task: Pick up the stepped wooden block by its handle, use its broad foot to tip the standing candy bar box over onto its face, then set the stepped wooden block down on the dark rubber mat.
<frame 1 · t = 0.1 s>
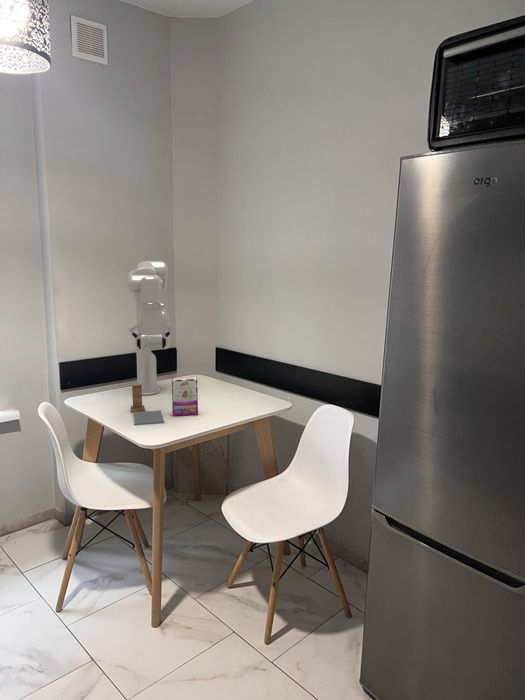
hand: (151, 348, 211), 31 cm above the table, tool pointing down, fingers open, 9 cm apart
stepped wooden block: (137, 410, 229), on the table
candy bar box: (185, 414, 225), on the table
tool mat: (148, 418, 219), on the table
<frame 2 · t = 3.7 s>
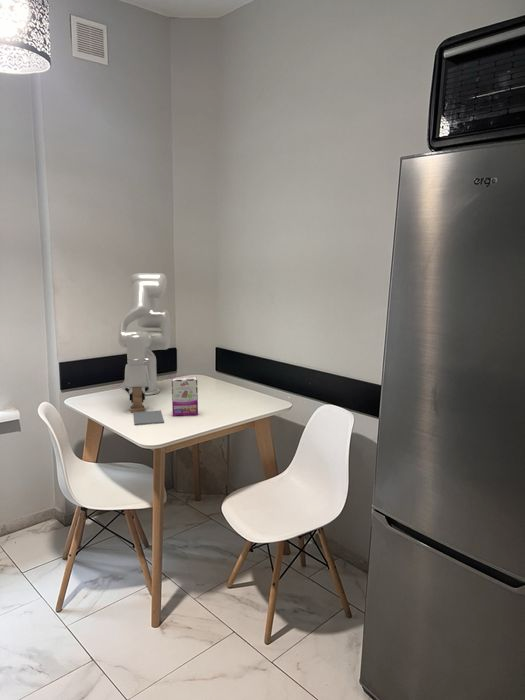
hand: (137, 401, 228), 4 cm above the table, tool pointing down, fingers closed on stepped wooden block, 4 cm apart
stepped wooden block: (137, 410, 229), on the table, touching gripper
everything else where it was.
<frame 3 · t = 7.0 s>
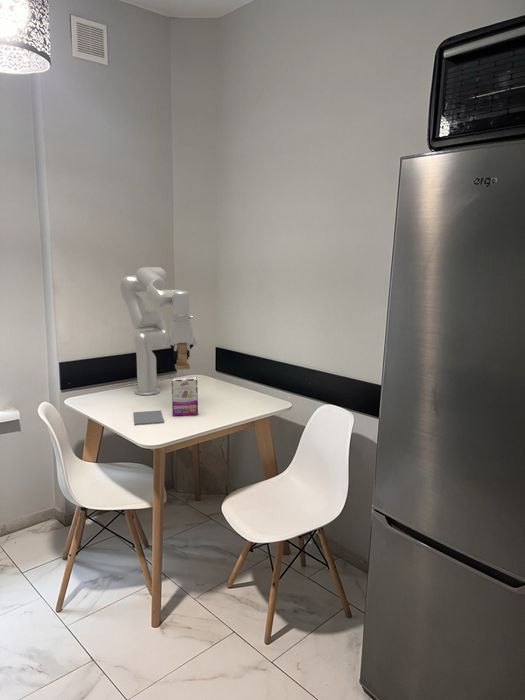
hand: (182, 358, 230), 23 cm above the table, tool pointing down, fingers closed on stepped wooden block, 4 cm apart
stepped wooden block: (182, 368, 231), point 19 cm above the table, touching gripper
everything else where it was.
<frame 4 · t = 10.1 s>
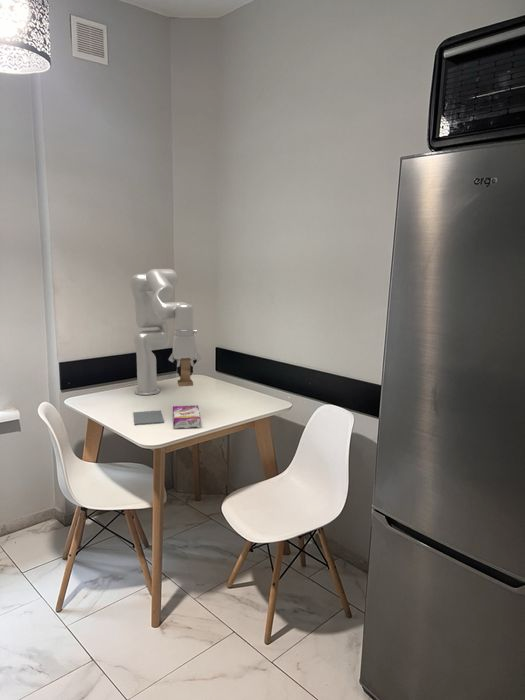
hand: (185, 374, 220), 18 cm above the table, tool pointing down, fingers closed on stepped wooden block, 4 cm apart
stepped wooden block: (185, 384, 221), point 14 cm above the table, touching gripper
candy bar box: (185, 410, 222), point 3 cm above the table
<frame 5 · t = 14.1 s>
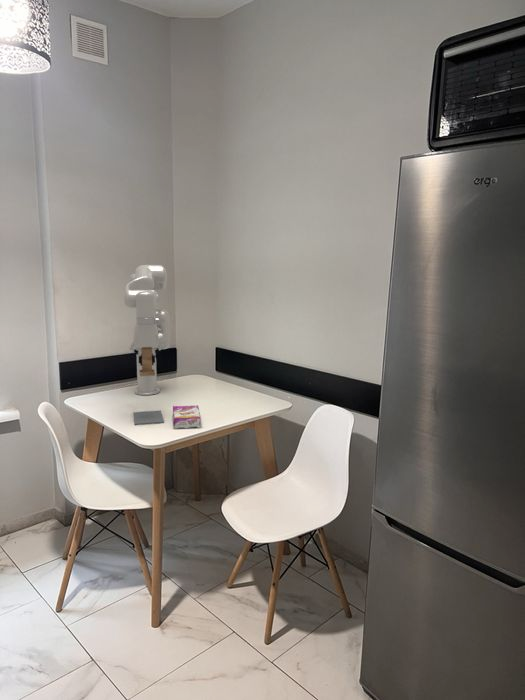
hand: (146, 364, 215), 24 cm above the table, tool pointing down, fingers closed on stepped wooden block, 4 cm apart
stepped wooden block: (147, 374, 215), point 19 cm above the table, touching gripper
everything else where it was.
when the fingers open (6 cm above the table, at t = 17.5 s): stepped wooden block stays where it is, resting on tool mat.
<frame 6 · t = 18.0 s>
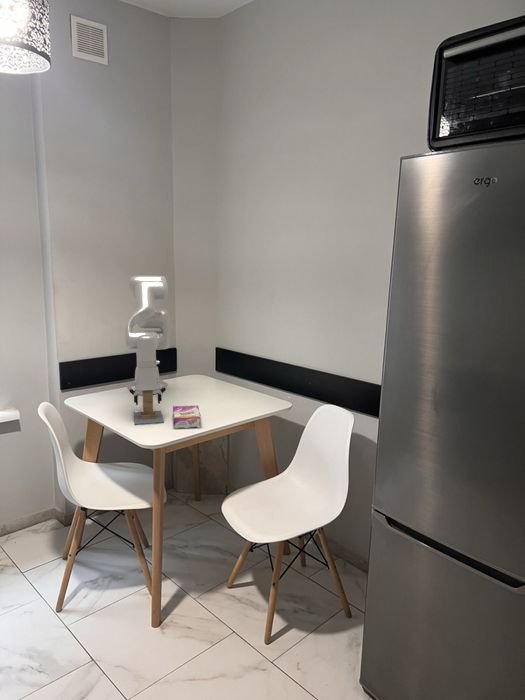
hand: (147, 403, 218), 7 cm above the table, tool pointing down, fingers open, 9 cm apart
stepped wooden block: (148, 416, 219), point 1 cm above the table, touching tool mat
everything else where it was.
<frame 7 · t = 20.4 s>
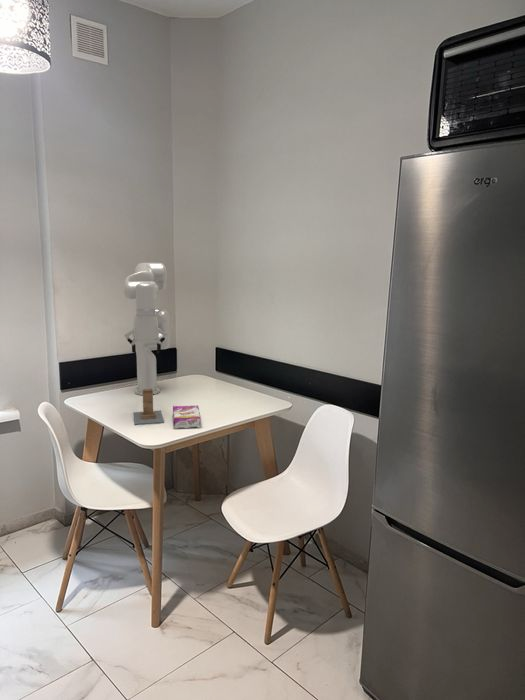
hand: (146, 353, 214), 28 cm above the table, tool pointing down, fingers open, 9 cm apart
nothing on the table moved.
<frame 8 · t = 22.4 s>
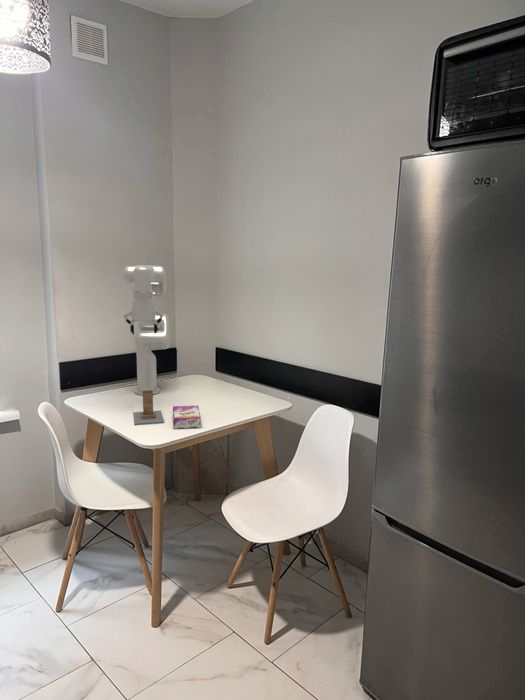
hand: (144, 333, 228), 34 cm above the table, tool pointing down, fingers open, 9 cm apart
nothing on the table moved.
at the end: candy bar box tilted 91°; stepped wooden block inside the target area (0.1 cm from its centre), point 0.6 cm above the table; the gripper is holding nothing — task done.
